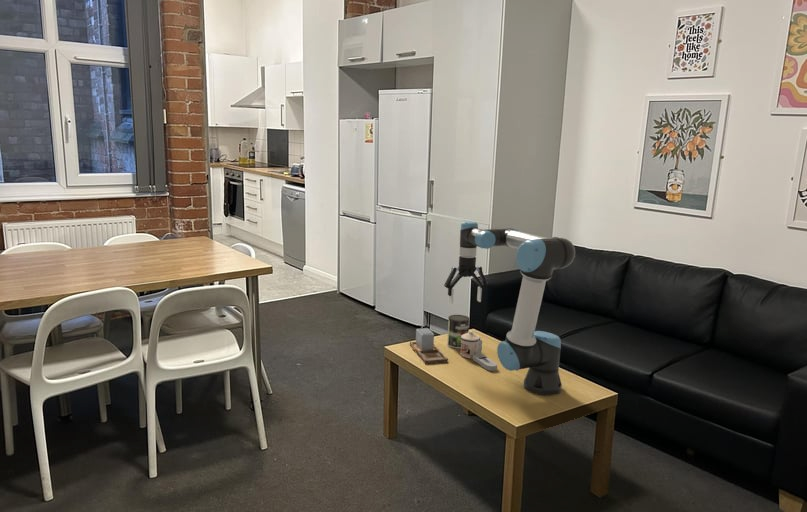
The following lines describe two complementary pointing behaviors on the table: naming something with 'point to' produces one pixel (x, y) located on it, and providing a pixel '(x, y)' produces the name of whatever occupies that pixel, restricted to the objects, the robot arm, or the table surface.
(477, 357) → the electronic device
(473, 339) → the teacup with lid
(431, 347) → the grey paneled block
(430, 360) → the tray
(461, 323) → the coffee can
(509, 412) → the table surface
